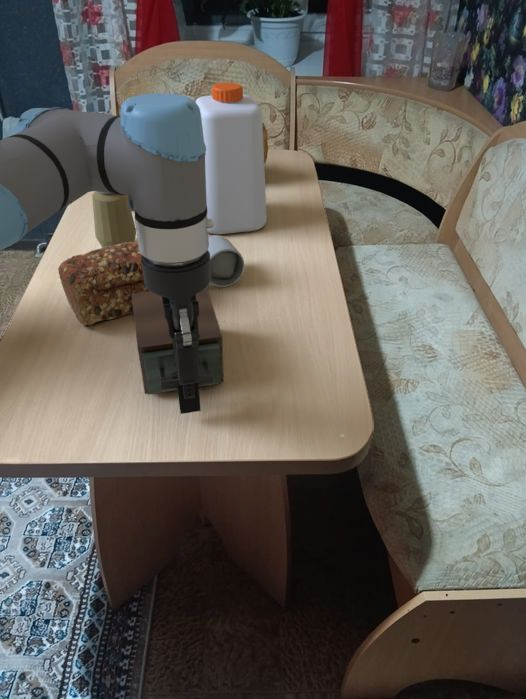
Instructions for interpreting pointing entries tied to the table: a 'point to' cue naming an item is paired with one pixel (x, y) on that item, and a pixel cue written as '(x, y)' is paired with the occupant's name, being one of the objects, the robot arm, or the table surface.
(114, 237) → the squeeze bottle
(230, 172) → the plastic bottle
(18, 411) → the table surface
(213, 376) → the drawer
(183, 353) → the robot arm
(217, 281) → the ceramic mug
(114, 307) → the bread
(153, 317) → the cabinet
